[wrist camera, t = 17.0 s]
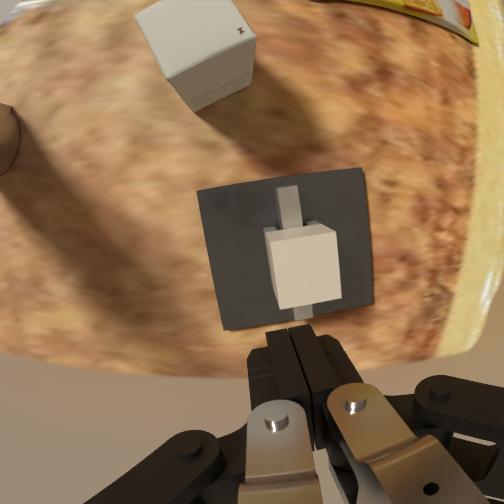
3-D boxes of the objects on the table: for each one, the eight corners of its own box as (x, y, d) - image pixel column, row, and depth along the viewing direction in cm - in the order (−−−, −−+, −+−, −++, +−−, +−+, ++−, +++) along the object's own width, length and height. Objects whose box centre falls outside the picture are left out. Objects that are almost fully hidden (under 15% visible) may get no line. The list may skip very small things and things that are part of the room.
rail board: (197, 190, 33) (193, 191, 30) (358, 167, 34) (370, 166, 30) (224, 326, 37) (222, 340, 34) (369, 300, 37) (380, 311, 34)
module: (262, 228, 34) (270, 242, 26) (314, 220, 34) (335, 231, 26) (271, 281, 35) (279, 309, 27) (320, 273, 35) (341, 298, 27)
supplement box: (223, 35, 30) (217, -26, 17) (252, 85, 31) (260, 38, 19) (164, 63, 30) (131, 13, 18) (191, 115, 32) (166, 81, 19)
